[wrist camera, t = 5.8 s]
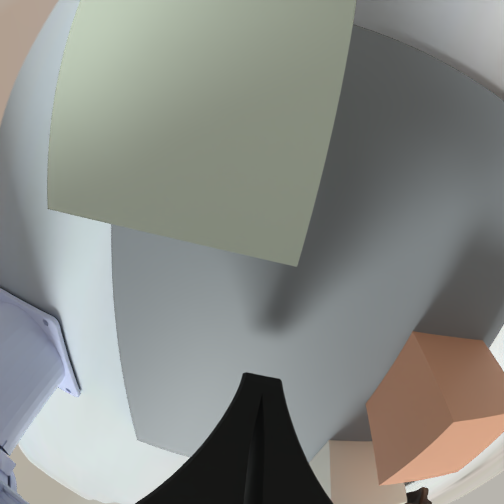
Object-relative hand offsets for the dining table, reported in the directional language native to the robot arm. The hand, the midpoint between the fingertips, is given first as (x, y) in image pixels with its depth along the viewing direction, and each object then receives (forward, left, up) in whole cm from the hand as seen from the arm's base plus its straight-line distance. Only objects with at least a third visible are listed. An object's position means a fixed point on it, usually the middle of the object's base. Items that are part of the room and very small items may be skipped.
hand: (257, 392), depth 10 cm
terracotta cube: (+9, 0, -2) cm, 9 cm away
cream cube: (+8, -9, -2) cm, 12 cm away
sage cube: (-3, +9, -2) cm, 10 cm away
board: (+3, 0, -3) cm, 4 cm away
